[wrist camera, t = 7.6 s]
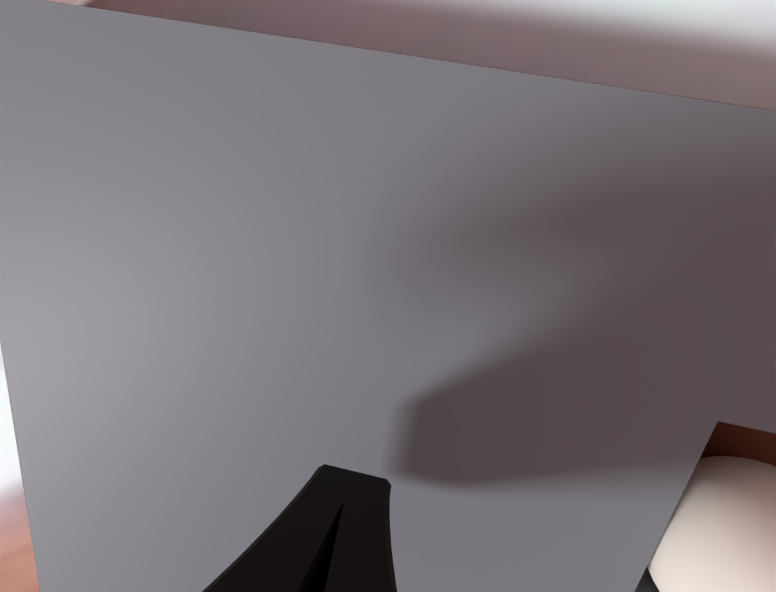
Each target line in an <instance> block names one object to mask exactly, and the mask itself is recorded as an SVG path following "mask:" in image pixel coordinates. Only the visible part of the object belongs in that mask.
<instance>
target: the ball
mask: <svg viewBox="0 0 776 592" xmlns="http://www.w3.org/2000/svg"><path fill="white" fill-rule="evenodd" d="M647 568H648V570H649V572H650V574H651V577H652V579H653V581H654V583H655V584H656V586H657V588H658V589H659V591H660V592H776V467H775V466H773V465H770V464H767V463H763V462H760V461H757V460H752V459H747V458H742V457H732V456H712V457H705V458H700V459H699V461H698V463H697V465H696V467H695V469H694V471H693V473H692V475H691V477H690V479H689V481H688V483H687V485H686V487H685V489H684V491H683V493H682V496H681V498H680V500H679V502H678V504H677V506H676V508H675V510H674V512H673V514H672V516H671V518H670V520H669V522H668V524H667V526H666V528H665V530H664V532H663V534H662V536H661V538H660V540H659V543H658V545H657V547H656V549H655V551H654V553H653V555H652V557H651V559H650V561H649V563H648V565H647Z"/></svg>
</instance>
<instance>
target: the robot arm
mask: <svg viewBox="0 0 776 592" xmlns="http://www.w3.org/2000/svg"><path fill="white" fill-rule="evenodd" d="M390 492H391V484H390V483H389V481H388V480H387V479H384V478H380V477H376V476H372V475H368V474H364V473H360V472H355V471H351V470H347V469H343V468H339V467H335V466H331V465H327V464H324V465H322V466H320V467H318V468H317V470H316V471H315V473H314V474H313V475H312V477H311V478H310V479H309V480H308V482H307V483H306V484H305V485H304V487H303V488H302V489H301V490H300V492H299V493H298V494H297V495H296V496H295V497H294V499H293V500H292V501H291V502H290V503H289V504H288V505H287V507H286V508H285V509H284V510H283V511H282V512H281V513H280V515H279V516H278V517H277V518H276V519H275V520H274V521H273V522H272V523H271V524H270V525H269V526H268V527H267V528H266V529H265V530H264V531H263V533H262V534H261V535H260V536H259V537H258V538H257V539H256V540H255V541H254V542H253V543H252V544H251V545H250V546H249V547H248V548H247V549H246V550H245V551H244V552H243V553H242V554H241V555H240V556H239V557H238V558H237V559H236V560H235V561H234V562H233V563H232V564H231V565H230V566H229V567H228V568H226V569H225V570H224V571H223V572H222V573H221V574H220V575H219V576H218V577H217V578H216V579H215V580H214V581H213V582H212V583H211V584H210V585H209V586H207V587H206V588H205V589H204V590H203V591H202V592H397V586H396V579H395V572H394V565H393V556H392V547H391V533H390Z"/></svg>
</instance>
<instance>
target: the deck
mask: <svg viewBox="0 0 776 592" xmlns="http://www.w3.org/2000/svg"><path fill="white" fill-rule="evenodd" d="M0 342H1V349H2V355H3V361H4V368H5V374H6V380H7V386H8V393H9V399H10V405H11V412H12V418H13V424H14V431H15V437H16V443H17V450H18V456H19V462H20V469H21V475H22V481H23V488H24V494H25V500H26V506H27V513H28V519H29V525H30V532H31V538H32V544H33V551H34V557H35V563H36V570H37V576H38V582H39V589H40V592H202V591H203V590H204V589H205V588H206V587H207V586H209V585H210V584H211V583H212V582H213V581H214V580H215V579H216V578H217V577H218V576H219V575H220V574H221V573H222V572H223V571H224V570H225V569H226V568H228V567H229V566H230V565H231V564H232V563H233V562H234V561H235V560H236V559H237V558H238V557H239V556H240V555H241V554H242V553H243V552H244V551H245V550H246V549H247V548H248V547H249V546H250V545H251V544H252V543H253V542H254V541H255V540H256V539H257V538H258V537H259V536H260V535H261V534H262V533H263V531H264V530H265V529H266V528H267V527H268V526H269V525H270V524H271V523H272V522H273V521H274V520H275V519H276V518H277V517H278V516H279V515H280V513H281V512H282V511H283V510H284V509H285V508H286V507H287V505H288V504H289V503H290V502H291V501H292V500H293V499H294V497H295V496H296V495H297V494H298V493H299V492H300V490H301V489H302V488H303V487H304V485H305V484H306V483H307V482H308V480H309V479H310V478H311V477H312V475H313V474H314V473H315V471H316V470H317V468H318V467H320V466H322V465H324V464H327V465H331V466H335V467H339V468H343V469H347V470H351V471H355V472H360V473H364V474H368V475H372V476H376V477H380V478H384V479H387V480H388V481H389V483H390V484H391V492H390V533H391V547H392V556H393V565H394V572H395V579H396V586H397V592H660V591H659V589H658V588H657V586H656V584H655V583H654V581H653V579H652V577H651V574H650V572H649V570H648V568H647V565H648V563H649V561H650V559H651V557H652V555H653V553H654V551H655V549H656V547H657V545H658V543H659V540H660V538H661V536H662V534H663V532H664V530H665V528H666V526H667V524H668V522H669V520H670V518H671V516H672V514H673V512H674V510H675V508H676V506H677V504H678V502H679V500H680V498H681V496H682V493H683V491H684V489H685V487H686V485H687V483H688V481H689V479H690V477H691V475H692V473H693V471H694V469H695V467H696V465H697V463H698V461H699V459H700V457H701V455H702V453H703V451H704V448H705V446H706V444H707V442H708V440H709V438H710V436H711V434H712V432H713V430H714V428H715V426H716V424H717V422H718V421H719V422H724V423H729V424H733V425H738V426H743V427H747V428H752V429H757V430H761V431H766V432H771V433H775V434H776V111H773V110H767V109H760V108H753V107H747V106H740V105H734V104H727V103H720V102H714V101H707V100H700V99H694V98H687V97H681V96H674V95H667V94H661V93H654V92H647V91H641V90H634V89H628V88H621V87H614V86H608V85H601V84H595V83H588V82H581V81H575V80H568V79H561V78H555V77H548V76H542V75H535V74H528V73H522V72H515V71H509V70H502V69H495V68H489V67H482V66H475V65H469V64H462V63H456V62H449V61H442V60H436V59H429V58H423V57H416V56H409V55H403V54H396V53H389V52H383V51H376V50H370V49H363V48H356V47H350V46H343V45H337V44H330V43H323V42H317V41H310V40H303V39H297V38H290V37H284V36H277V35H270V34H264V33H257V32H251V31H244V30H237V29H231V28H224V27H217V26H211V25H204V24H198V23H191V22H184V21H178V20H171V19H165V18H158V17H151V16H145V15H138V14H131V13H125V12H118V11H112V10H105V9H98V8H92V7H85V6H79V5H72V4H65V3H59V2H52V1H45V0H0Z"/></svg>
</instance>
